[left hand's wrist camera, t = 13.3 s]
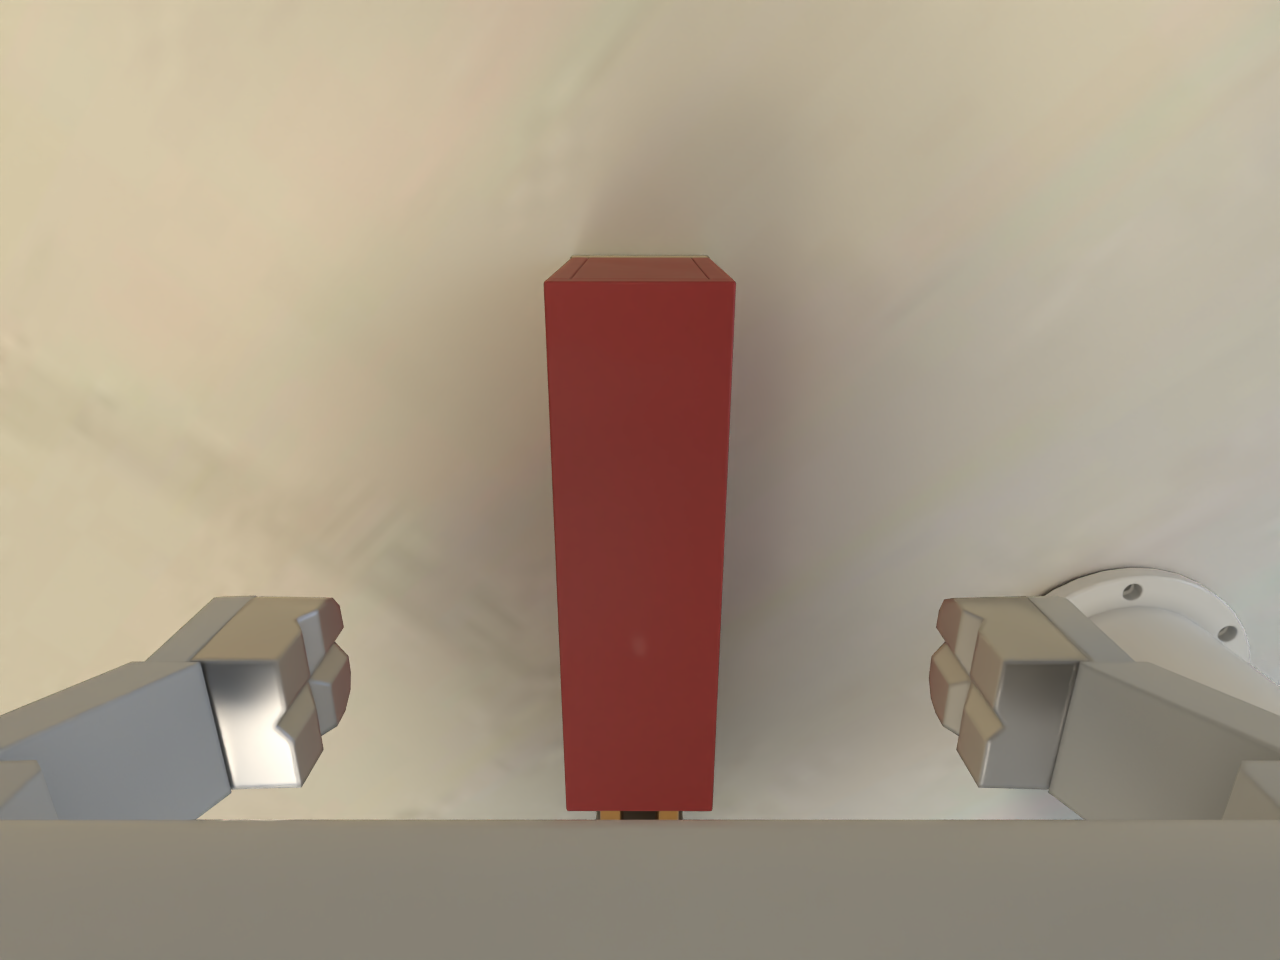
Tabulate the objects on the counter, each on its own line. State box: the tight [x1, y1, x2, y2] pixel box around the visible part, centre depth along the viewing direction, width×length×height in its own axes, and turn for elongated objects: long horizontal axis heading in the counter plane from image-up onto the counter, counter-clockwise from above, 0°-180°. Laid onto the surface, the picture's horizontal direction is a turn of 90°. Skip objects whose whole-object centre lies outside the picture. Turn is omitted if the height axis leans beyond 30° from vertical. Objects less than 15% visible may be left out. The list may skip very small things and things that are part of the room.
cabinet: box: [544, 256, 736, 811], centre depth 29 cm, size 19×6×10 cm, turn 0°
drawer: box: [596, 811, 683, 820], centre depth 33 cm, size 24×4×8 cm, turn 0°
